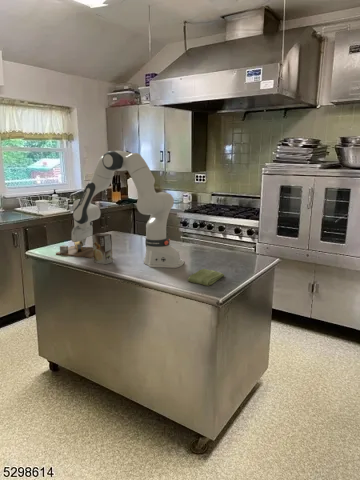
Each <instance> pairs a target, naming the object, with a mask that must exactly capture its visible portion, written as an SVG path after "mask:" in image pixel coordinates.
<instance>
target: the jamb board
mask: <svg viewBox="0 0 360 480" xmlns="http://www.w3.org/2000/svg"><path fill="white" fill-rule="evenodd" d="M55 255H56V256H64V257H67V256H68V257H76V258H88V259H94V255H93V246H92V247H91V246H82V252H78V251H77V250H76V248H75V245H71V246H68V245H65V244H64V245H63V244H61V245H60V246H59V251H58V252H55Z"/></svg>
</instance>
